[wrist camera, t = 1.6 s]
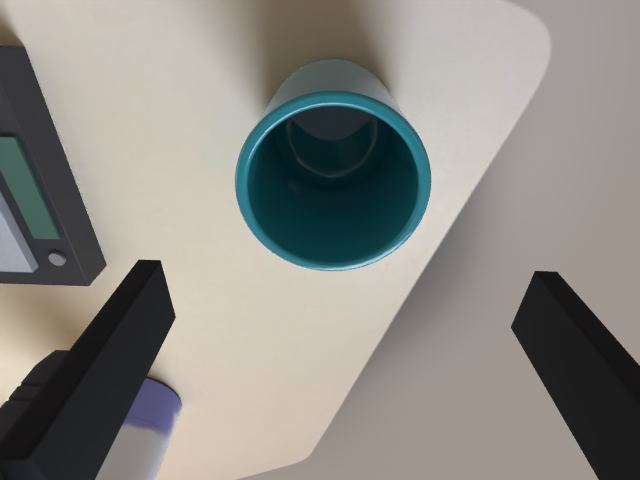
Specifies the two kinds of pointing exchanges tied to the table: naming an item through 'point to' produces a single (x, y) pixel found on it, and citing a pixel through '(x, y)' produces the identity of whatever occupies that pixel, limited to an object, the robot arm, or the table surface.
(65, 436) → the robot arm
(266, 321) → the table surface
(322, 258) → the cup
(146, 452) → the container
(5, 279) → the scale
